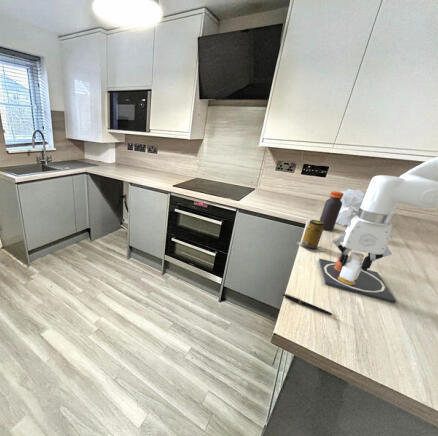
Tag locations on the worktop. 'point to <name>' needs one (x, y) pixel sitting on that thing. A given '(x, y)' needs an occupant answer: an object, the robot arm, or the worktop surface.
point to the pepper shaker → (352, 267)
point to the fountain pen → (307, 304)
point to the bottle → (331, 210)
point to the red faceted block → (338, 265)
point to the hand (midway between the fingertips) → (352, 266)
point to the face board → (356, 282)
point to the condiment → (312, 236)
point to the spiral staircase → (349, 206)
